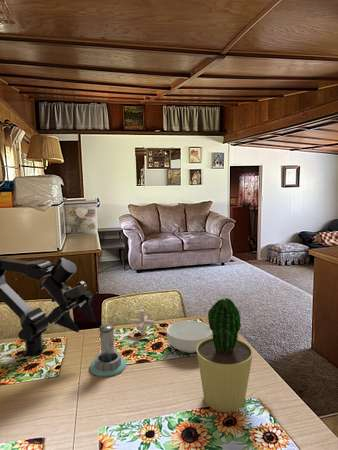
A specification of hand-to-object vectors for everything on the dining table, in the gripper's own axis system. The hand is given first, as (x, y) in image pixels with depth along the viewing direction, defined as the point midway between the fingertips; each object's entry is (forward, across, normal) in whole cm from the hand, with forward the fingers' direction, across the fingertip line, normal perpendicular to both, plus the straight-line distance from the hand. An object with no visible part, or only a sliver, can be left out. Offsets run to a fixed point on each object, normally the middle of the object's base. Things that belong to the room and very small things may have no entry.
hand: (86, 325), depth 113 cm
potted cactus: (+43, -3, -24) cm, 49 cm away
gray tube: (+14, 0, +3) cm, 15 cm away
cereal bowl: (+30, +21, -11) cm, 39 cm away
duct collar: (+15, 0, +4) cm, 15 cm away
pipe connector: (+16, +25, +4) cm, 30 cm away
